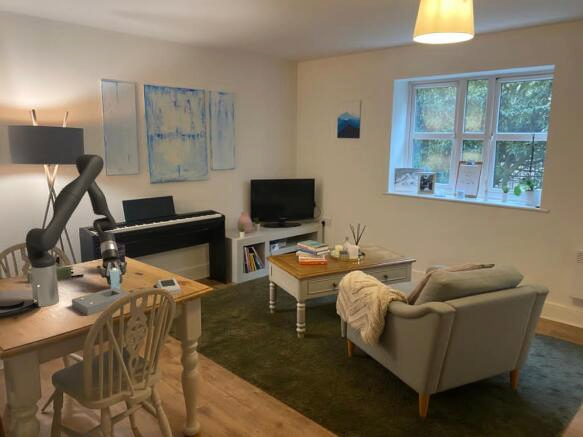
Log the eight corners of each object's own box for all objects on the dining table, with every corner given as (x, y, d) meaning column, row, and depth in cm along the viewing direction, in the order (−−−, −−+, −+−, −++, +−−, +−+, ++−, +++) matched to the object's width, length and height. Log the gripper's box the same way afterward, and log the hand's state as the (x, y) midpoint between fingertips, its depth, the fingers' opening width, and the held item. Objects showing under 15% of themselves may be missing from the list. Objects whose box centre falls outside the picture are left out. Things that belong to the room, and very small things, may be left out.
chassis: (87, 315, 184) (87, 306, 183) (72, 306, 192) (71, 298, 192) (132, 301, 199) (131, 293, 198) (116, 294, 208) (115, 286, 207)
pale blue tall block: (111, 292, 209) (109, 270, 207) (110, 289, 212) (108, 268, 210) (120, 291, 211) (119, 269, 209) (118, 288, 214) (117, 266, 212)
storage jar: (103, 273, 238) (100, 245, 235) (119, 268, 246) (117, 242, 243) (114, 276, 232) (112, 248, 230) (130, 271, 240) (128, 245, 238)
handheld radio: (29, 282, 224) (83, 276, 233) (28, 284, 221) (83, 278, 230) (27, 269, 222) (82, 264, 231) (26, 271, 219) (82, 266, 228)
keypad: (175, 276, 223) (180, 286, 210) (175, 283, 224) (180, 293, 210) (155, 279, 219) (159, 289, 206) (155, 286, 220) (159, 296, 207)
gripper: (94, 250, 211) (99, 282, 203) (125, 246, 218) (132, 277, 210) (93, 258, 216) (98, 289, 208) (124, 254, 223) (130, 284, 215)
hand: (115, 283), depth 209 cm, fingers closed on pale blue tall block, 4 cm apart
